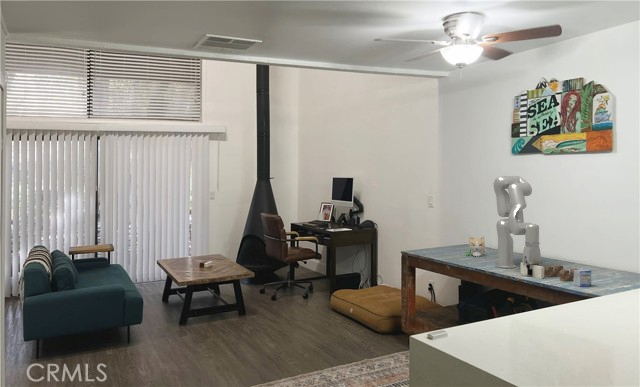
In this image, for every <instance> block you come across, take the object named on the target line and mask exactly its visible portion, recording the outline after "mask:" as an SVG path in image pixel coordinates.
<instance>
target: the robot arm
mask: <svg viewBox="0 0 640 387" xmlns="http://www.w3.org/2000/svg"><path fill="white" fill-rule="evenodd" d="M493 190H494V194H495V197H496V198H495V199H496V209H497V215H498V216H499V217H500V218H502V219H499V220H498V221H497V222H496V224H495V225H496V226H495V228H496V231H497V258H496V259H494V262H496V263H495V265H494V266H495V267H496V268H501V269H515V268H516V267H517V265H516V264H514V239H513V236H512V235H514V236H524V238H525V240H524V241H525V242H524V243H525V244H524V248H523V251H522V262H523V265H524V266H526V267H527V269H528V270H527V275H526V276H528V275H530V276H529V277H532V264H533V265H537V266H541V264H542V262H541V258H542V257H541V255H542V254H541V249H540V244H541V243H540V225H539V224H536V223H532V222H525V220H524V219H525V218H524V209H526V208H527V201H526V197H530V196H531V195H532V193H533V188H532V186H531V184H530V182H528V181H527V180H526V179H524V178H523V176H522V177H521V176H519V175H501V176H497V177H495V178H494V181H493ZM503 218H504V219H503ZM511 234H512V235H511Z"/></svg>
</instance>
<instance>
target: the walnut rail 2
mask: <svg viewBox="0 0 640 387" xmlns="http://www.w3.org/2000/svg"><path fill="white" fill-rule="evenodd" d="M574 270H580V269H579V268H570V269H563V270H560V276H559V281H560V282H570V281H574Z"/></svg>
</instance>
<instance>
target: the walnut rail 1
mask: <svg viewBox="0 0 640 387" xmlns="http://www.w3.org/2000/svg"><path fill="white" fill-rule="evenodd" d="M560 270H564V265H559V264H558V265H554V266H552V265H550V266H549V265H548V266H544V278H556V277H558V278H559V277H560Z"/></svg>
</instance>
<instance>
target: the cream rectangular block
mask: <svg viewBox="0 0 640 387" xmlns="http://www.w3.org/2000/svg"><path fill="white" fill-rule="evenodd" d="M527 270H528V269H527V267H526V266H524V265H523V261H521V262H520V274H521V275H525V276H528V277H531V278H537V279H541V280H543V279H545V266H541V265H538V266H537V265H533V264H532V276H530V275H527Z"/></svg>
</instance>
